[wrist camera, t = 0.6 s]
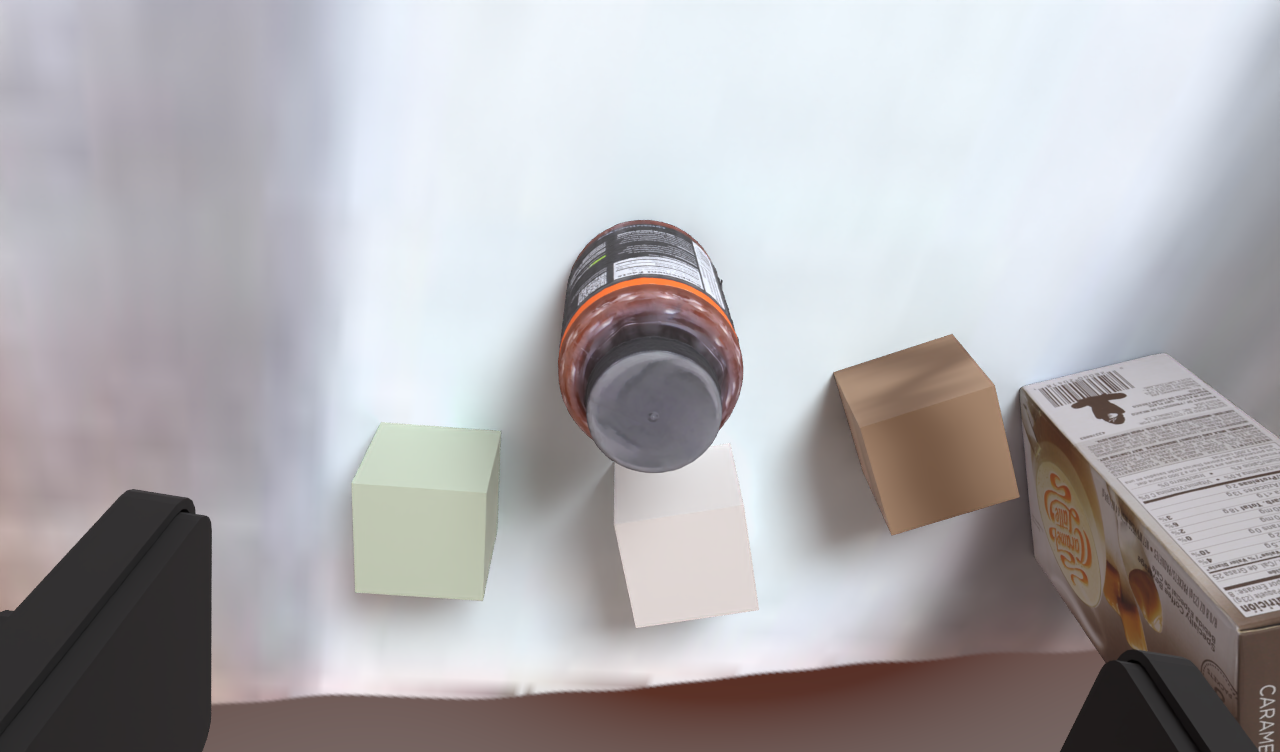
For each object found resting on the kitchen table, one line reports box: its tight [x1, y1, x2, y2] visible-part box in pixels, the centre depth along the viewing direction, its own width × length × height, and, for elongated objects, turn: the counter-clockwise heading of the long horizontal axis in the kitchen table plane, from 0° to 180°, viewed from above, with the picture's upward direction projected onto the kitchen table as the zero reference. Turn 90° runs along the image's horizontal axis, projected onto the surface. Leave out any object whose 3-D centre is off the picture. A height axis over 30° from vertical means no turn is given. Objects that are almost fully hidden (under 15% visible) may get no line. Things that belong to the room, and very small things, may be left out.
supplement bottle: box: [558, 220, 743, 473], centre depth 33 cm, size 6×6×11 cm
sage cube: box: [351, 422, 501, 601], centre depth 40 cm, size 5×5×5 cm
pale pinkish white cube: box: [614, 443, 759, 628], centre depth 40 cm, size 5×5×5 cm
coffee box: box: [1020, 353, 1280, 752], centre depth 35 cm, size 9×6×16 cm
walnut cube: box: [833, 334, 1020, 535], centre depth 39 cm, size 5×5×5 cm
